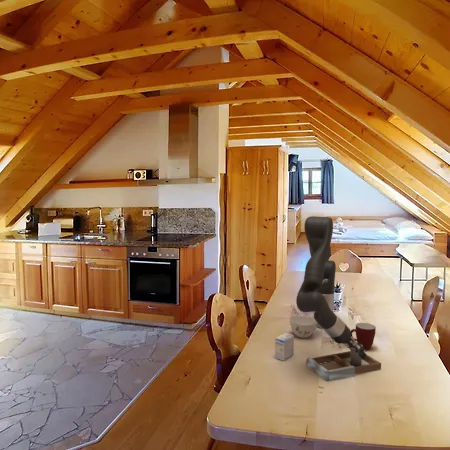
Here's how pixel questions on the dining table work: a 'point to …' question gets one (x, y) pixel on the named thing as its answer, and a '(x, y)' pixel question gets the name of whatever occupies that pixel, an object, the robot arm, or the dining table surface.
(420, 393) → the dining table surface
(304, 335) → the teacup
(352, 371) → the divider rack
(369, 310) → the dining table surface
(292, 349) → the medicine box
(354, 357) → the grey dome-topped cylinder
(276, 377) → the dining table surface
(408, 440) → the dining table surface
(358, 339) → the mug
